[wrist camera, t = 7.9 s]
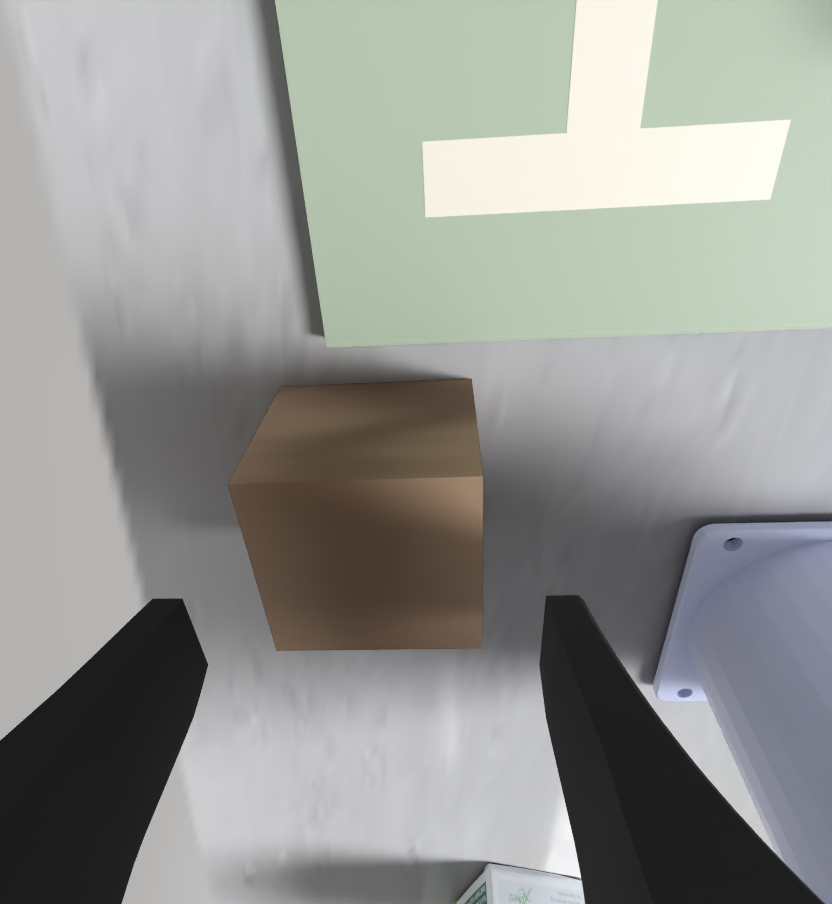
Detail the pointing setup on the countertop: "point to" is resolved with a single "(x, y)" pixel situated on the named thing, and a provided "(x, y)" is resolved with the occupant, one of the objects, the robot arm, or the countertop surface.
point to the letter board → (563, 166)
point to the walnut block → (366, 516)
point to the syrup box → (522, 887)
